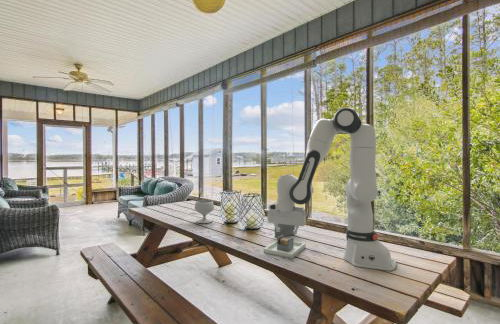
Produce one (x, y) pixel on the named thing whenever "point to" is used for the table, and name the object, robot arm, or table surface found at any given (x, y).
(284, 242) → the block
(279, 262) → the table surface
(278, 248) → the caddy
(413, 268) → the table surface
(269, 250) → the tray
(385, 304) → the table surface
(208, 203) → the chalice
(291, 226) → the hip flask
